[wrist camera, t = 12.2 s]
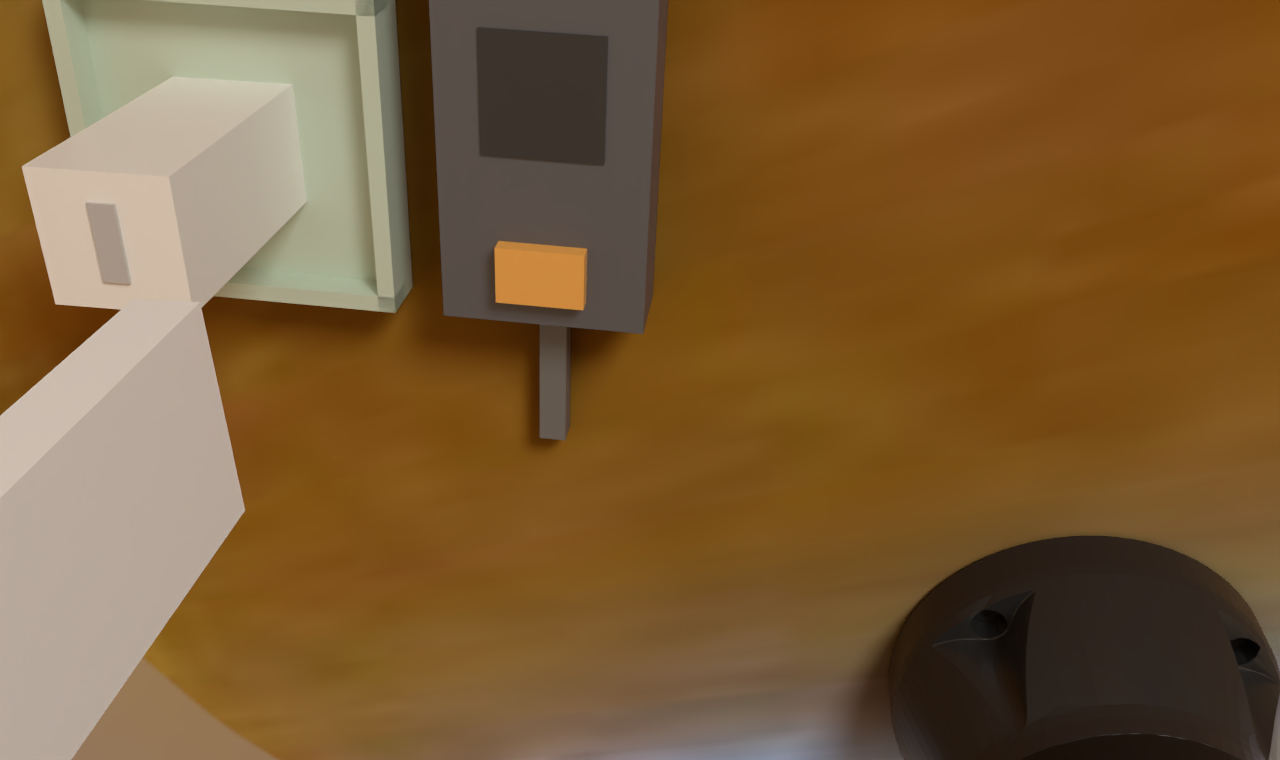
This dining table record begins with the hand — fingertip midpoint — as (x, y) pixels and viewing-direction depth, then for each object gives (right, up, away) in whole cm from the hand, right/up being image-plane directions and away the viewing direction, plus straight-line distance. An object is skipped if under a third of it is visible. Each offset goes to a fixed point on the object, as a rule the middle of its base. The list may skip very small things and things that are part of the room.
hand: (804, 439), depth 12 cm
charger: (-16, +9, +28) cm, 33 cm away
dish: (-15, +9, +29) cm, 34 cm away
